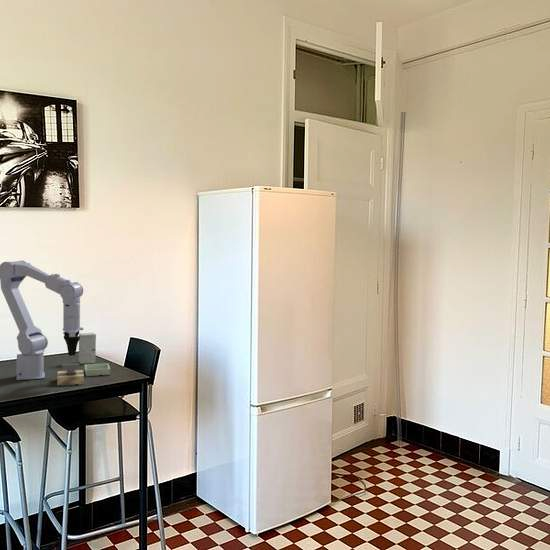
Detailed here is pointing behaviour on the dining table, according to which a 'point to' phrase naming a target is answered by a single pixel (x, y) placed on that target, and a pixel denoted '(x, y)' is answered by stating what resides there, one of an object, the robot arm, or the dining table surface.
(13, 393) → the dining table surface
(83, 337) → the skincare box
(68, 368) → the t key
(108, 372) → the tray
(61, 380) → the key block
